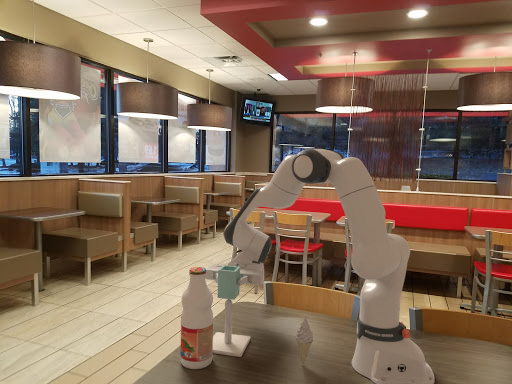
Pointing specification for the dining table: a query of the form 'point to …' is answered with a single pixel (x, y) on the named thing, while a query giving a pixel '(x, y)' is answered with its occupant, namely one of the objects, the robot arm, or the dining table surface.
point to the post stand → (229, 337)
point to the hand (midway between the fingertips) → (228, 281)
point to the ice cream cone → (304, 340)
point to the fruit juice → (197, 322)
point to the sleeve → (228, 282)
